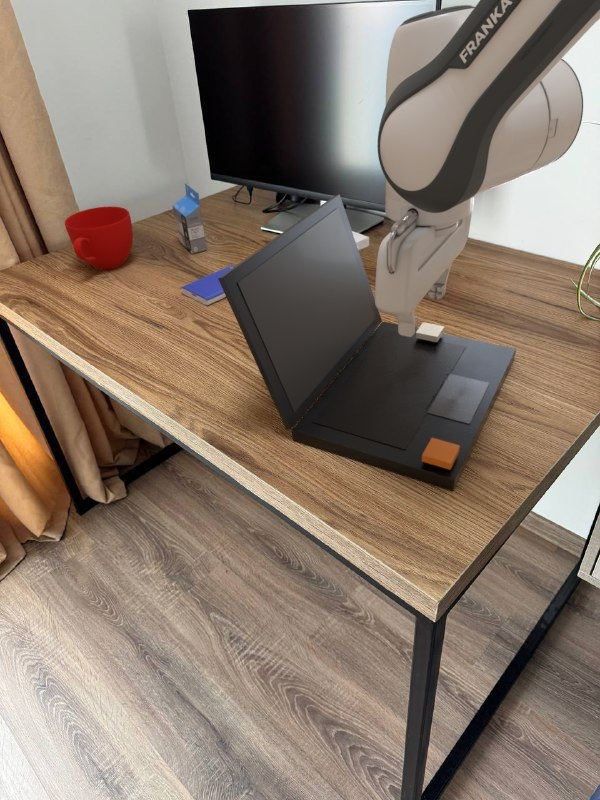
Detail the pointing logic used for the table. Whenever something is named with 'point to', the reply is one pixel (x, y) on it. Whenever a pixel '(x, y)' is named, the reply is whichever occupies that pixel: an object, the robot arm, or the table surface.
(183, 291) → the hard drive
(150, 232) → the table surface
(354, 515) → the table surface
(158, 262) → the table surface
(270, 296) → the laptop screen
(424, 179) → the robot arm
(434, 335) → the off-white flat block
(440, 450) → the key amber
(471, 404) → the laptop
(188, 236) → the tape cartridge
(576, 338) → the table surface
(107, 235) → the ceramic cup
